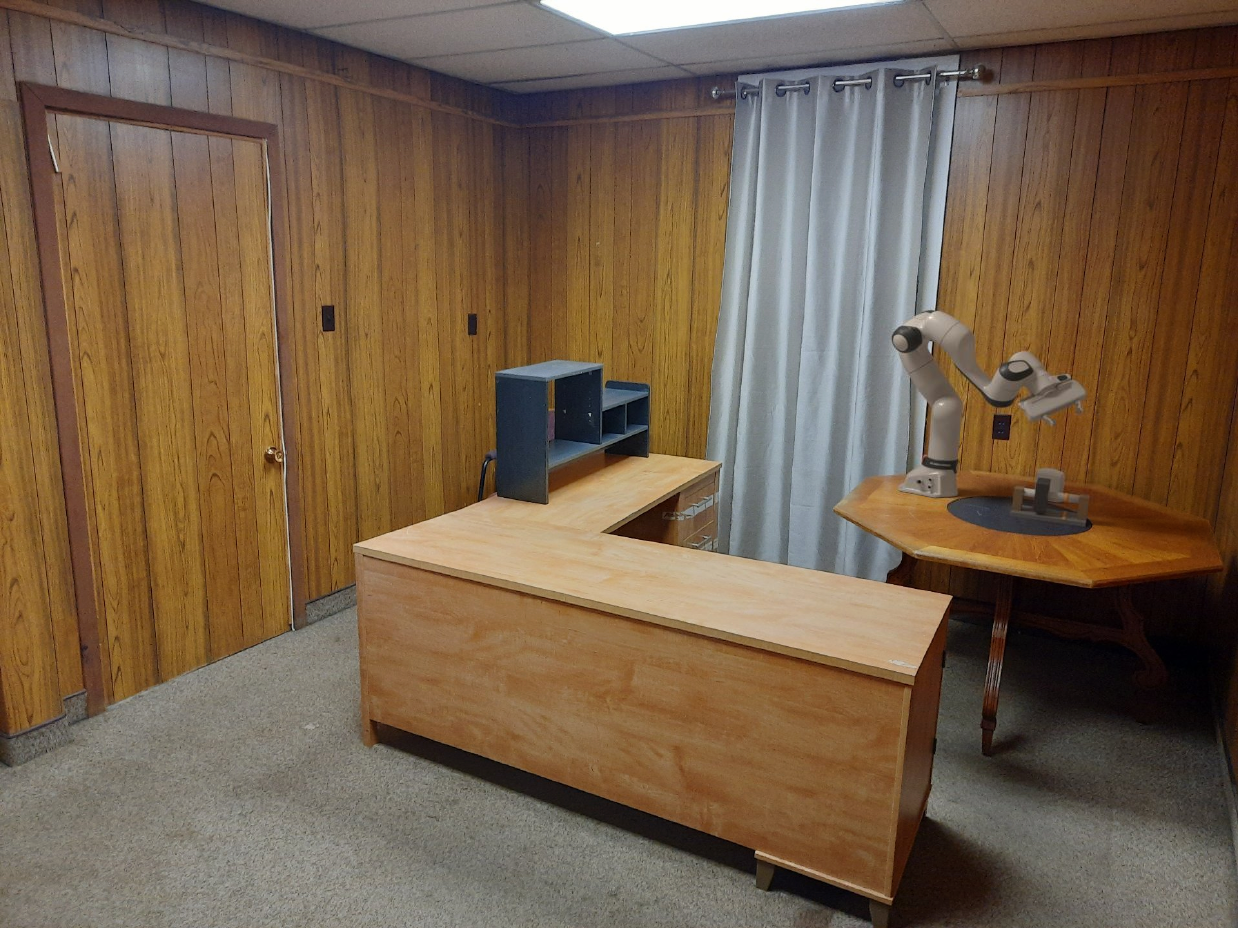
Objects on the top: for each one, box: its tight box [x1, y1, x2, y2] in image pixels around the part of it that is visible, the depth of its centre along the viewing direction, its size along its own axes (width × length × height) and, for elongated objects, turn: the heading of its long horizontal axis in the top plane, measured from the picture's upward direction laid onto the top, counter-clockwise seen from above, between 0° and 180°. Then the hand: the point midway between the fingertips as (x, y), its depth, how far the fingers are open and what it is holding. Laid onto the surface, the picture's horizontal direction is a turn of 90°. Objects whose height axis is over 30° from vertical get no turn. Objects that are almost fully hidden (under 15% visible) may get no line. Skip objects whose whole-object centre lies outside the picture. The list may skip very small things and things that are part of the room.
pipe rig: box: [1009, 485, 1091, 528], centre depth 307 cm, size 24×12×10 cm, turn 60°
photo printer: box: [1034, 467, 1066, 504], centre depth 330 cm, size 10×4×12 cm, turn 39°
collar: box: [1032, 478, 1051, 512], centre depth 308 cm, size 4×10×10 cm, turn 150°
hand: (1067, 419), depth 290 cm, fingers open, 8 cm apart
